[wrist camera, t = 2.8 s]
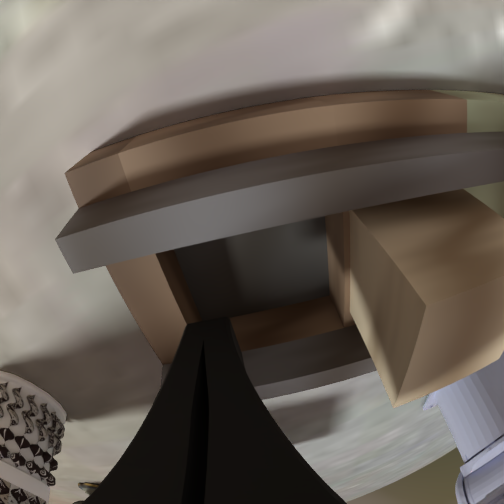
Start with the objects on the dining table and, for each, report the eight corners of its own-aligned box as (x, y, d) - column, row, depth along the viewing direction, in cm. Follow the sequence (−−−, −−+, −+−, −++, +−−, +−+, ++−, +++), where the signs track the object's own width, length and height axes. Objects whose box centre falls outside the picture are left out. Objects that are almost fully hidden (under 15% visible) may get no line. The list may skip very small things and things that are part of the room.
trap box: (583, 108, 10) (625, 129, 6) (560, 242, 17) (591, 271, 13) (90, 152, 11) (36, 198, 7) (182, 355, 17) (180, 424, 13)
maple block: (459, 185, 10) (546, 255, 6) (442, 283, 13) (499, 358, 9) (349, 206, 10) (426, 305, 6) (349, 311, 13) (393, 408, 9)
